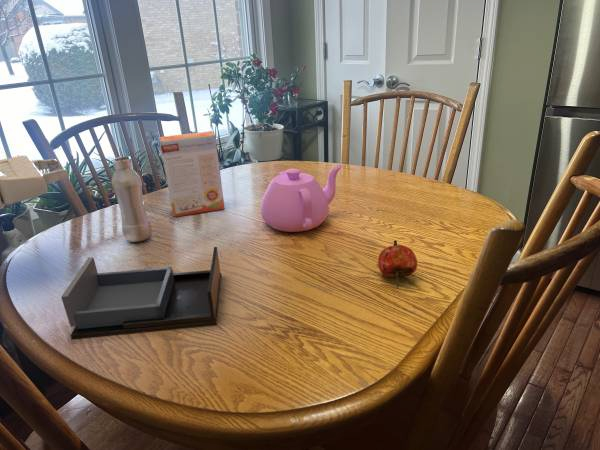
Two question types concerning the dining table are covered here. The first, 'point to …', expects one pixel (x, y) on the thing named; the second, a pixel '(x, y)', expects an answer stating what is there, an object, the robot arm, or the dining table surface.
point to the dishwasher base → (176, 305)
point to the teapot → (297, 200)
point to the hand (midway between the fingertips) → (62, 167)
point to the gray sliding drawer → (116, 296)
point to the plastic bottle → (130, 201)
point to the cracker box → (192, 173)
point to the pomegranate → (397, 261)
